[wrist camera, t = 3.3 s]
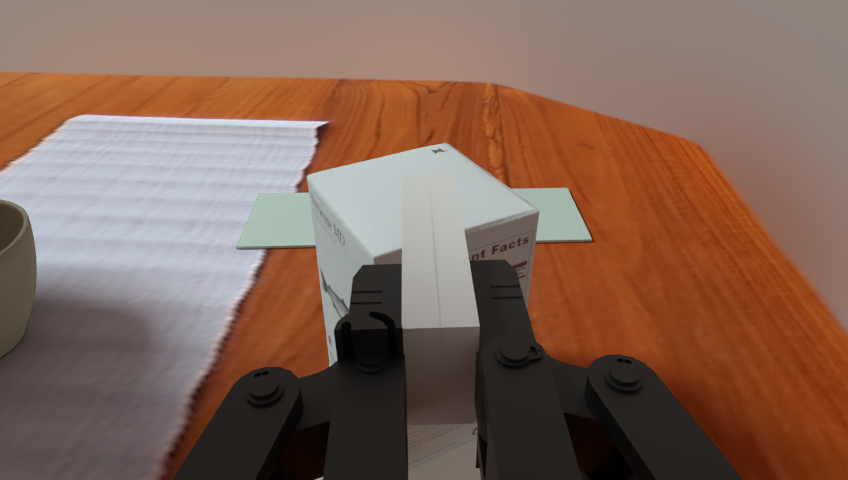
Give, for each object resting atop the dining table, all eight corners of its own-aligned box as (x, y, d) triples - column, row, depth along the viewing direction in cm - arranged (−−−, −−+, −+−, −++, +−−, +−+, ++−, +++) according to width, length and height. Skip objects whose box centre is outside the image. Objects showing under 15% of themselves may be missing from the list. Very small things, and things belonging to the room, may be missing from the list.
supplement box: (328, 379, 33) (301, 170, 26) (447, 336, 36) (451, 137, 29) (384, 486, 27) (369, 256, 20) (519, 424, 30) (546, 204, 23)
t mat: (705, 479, 28) (706, 477, 28) (134, 496, 27) (133, 493, 27) (567, 189, 51) (567, 187, 51) (258, 195, 51) (258, 193, 51)
